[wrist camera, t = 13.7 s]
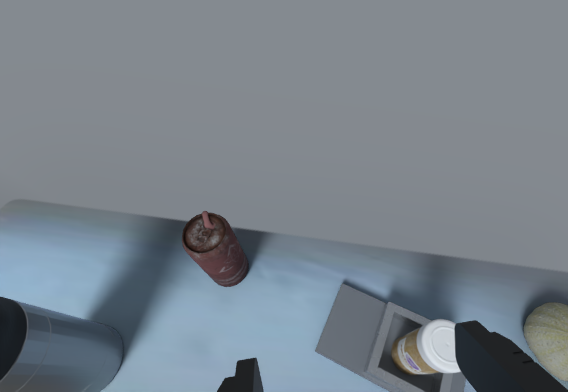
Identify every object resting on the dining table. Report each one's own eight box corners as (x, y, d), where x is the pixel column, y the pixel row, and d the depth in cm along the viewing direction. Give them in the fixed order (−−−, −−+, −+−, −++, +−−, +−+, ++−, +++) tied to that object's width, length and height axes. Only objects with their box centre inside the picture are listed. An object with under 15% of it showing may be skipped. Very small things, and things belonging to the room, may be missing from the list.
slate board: (454, 426, 36) (457, 427, 35) (315, 351, 41) (315, 350, 40) (468, 342, 40) (472, 342, 39) (341, 285, 45) (341, 283, 45)
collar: (436, 410, 36) (445, 413, 33) (363, 371, 38) (367, 371, 36) (451, 336, 40) (460, 333, 37) (384, 306, 42) (388, 301, 40)
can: (243, 244, 50) (222, 202, 38) (253, 280, 47) (233, 246, 35) (208, 255, 50) (176, 216, 38) (215, 293, 46) (182, 262, 34)
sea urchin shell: (616, 322, 39) (657, 362, 31) (576, 366, 41) (606, 412, 34) (536, 284, 42) (557, 313, 35) (504, 327, 44) (517, 362, 37)
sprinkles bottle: (384, 357, 39) (413, 347, 28) (401, 328, 41) (435, 307, 29) (416, 384, 37) (462, 385, 26) (433, 353, 39) (483, 340, 28)
